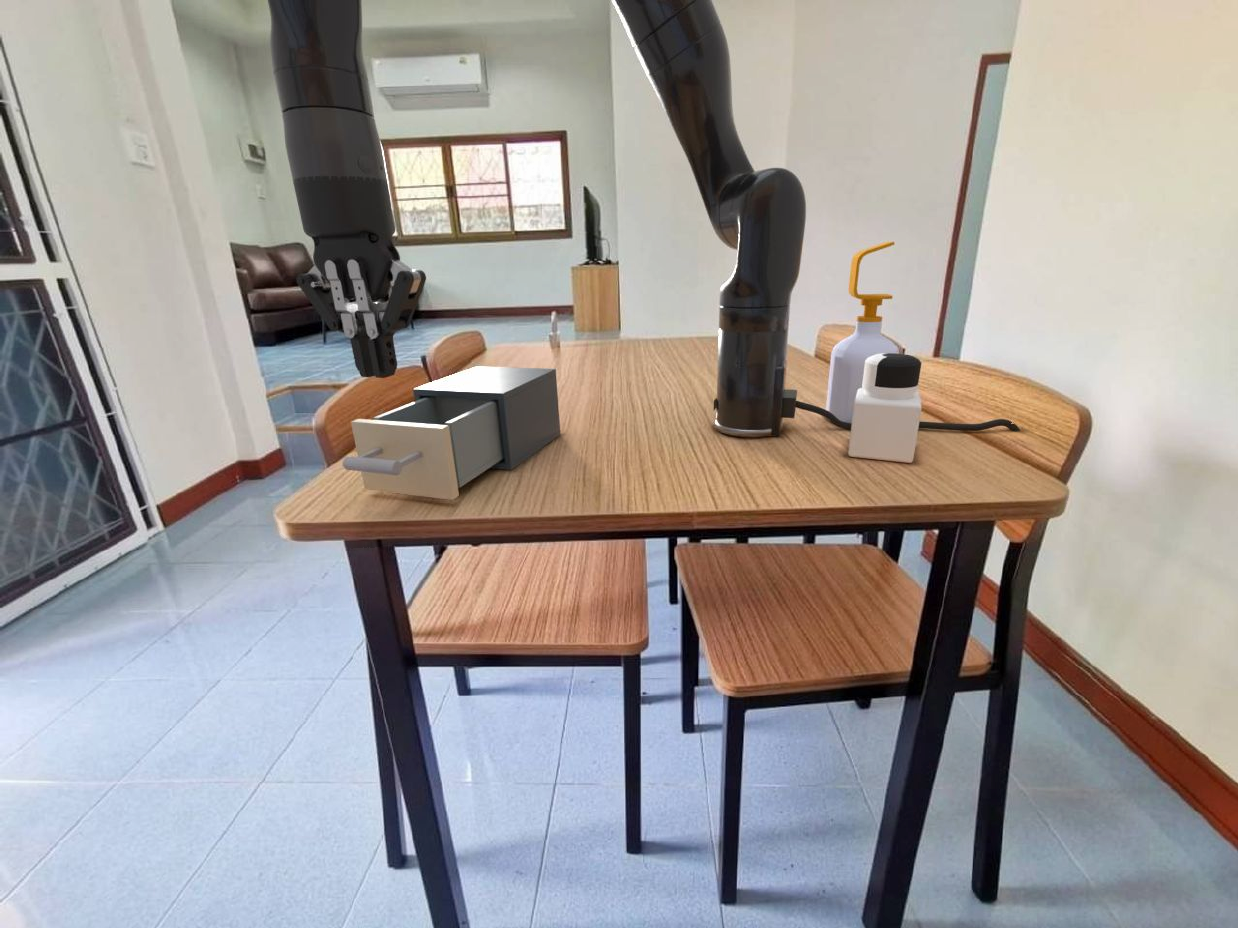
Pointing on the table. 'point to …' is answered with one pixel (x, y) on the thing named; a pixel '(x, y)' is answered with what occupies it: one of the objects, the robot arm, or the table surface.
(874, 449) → the medicine bottle
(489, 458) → the drawer
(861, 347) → the soap bottle
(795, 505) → the table surface
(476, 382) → the cabinet
